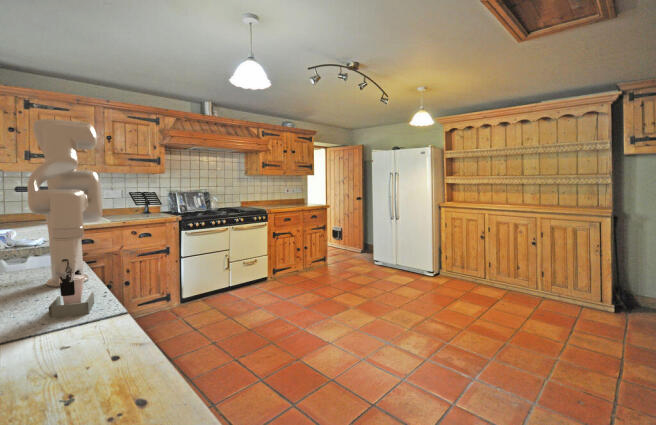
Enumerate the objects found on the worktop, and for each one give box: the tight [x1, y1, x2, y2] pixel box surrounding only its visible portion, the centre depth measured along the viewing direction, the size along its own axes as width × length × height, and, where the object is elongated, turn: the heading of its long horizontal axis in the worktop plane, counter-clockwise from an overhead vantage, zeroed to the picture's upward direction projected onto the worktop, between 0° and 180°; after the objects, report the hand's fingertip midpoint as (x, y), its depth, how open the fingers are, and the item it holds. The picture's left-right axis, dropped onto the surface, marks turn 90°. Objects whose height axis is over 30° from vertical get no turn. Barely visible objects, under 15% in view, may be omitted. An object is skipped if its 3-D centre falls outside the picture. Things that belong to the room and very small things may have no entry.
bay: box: [48, 292, 95, 320], centre depth 102 cm, size 9×9×4 cm
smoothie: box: [59, 272, 85, 305], centre depth 101 cm, size 6×6×14 cm
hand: (71, 290), depth 101 cm, fingers open, 8 cm apart
